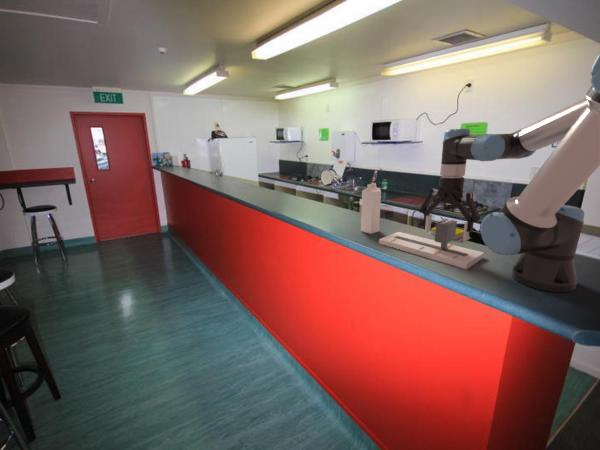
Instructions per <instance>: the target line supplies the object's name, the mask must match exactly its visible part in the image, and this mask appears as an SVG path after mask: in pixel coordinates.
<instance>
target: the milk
mask: <svg viewBox="0 0 600 450" xmlns="http://www.w3.org/2000/svg"><path fill="white" fill-rule="evenodd" d="M381 196H382V190H381V189H380V188H378V187H377V183H376V182H375V183H369V184H367V188H365V189H362V191H361V212H360V213H361V215H360V216H361V217H360V218H361V220H360V231H361V232H362V233H367V234H370V235H372V234H375V233H378V232H380V221H381V217H380V216H381V203H382V200H381V199H382V197H381Z"/></svg>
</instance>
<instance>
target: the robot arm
mask: <svg viewBox="0 0 600 450" xmlns="http://www.w3.org/2000/svg"><path fill="white" fill-rule="evenodd" d="M590 75H591V78H590V84H591V87H590V88H589V89H588V90H587V92H586V93H585V95H584V97H585V98H582V99H580V100H578V101H577V102H574V103H573V104H570V105H568V106H566V107H565V108H562V109H560V110H558V111H556V112H554V113H552V114H549V115H547V116H545V117H542V118H541V119H539V120H537V121H535V122H533V123H531V124H529V125H526V126H525V127H523V128H520V129H518V130H516V131H514V132H512V133H484V134H471V130H470V129H469V128H454V129H453V128H451V129H450V128H449V129H447V130H445V131H444V136H443V140H442V152H441V164H440V171H439V175H440V177H439V184H438V189H437V188H431V189H429V191H428V196H427V197H426V199H425V200H424V202H423V204H422V205H421V207H420V208H419V211H418V212H419V213H421V214H422V215H423V224H425V226H424V234H428V232H431V229H432V226H431V225H432V220H433V219H432V218H433V217H432V216H433V215H432V214H431V213H432V212H433V211H434V210H436V208H437V207H439V206H440V205H441V204H442V203H443V204H449V205H455V206H456V207H457V208H458V210H459V211H460V213H461V214H462V216H463V217H464V219H465V220H466V222H464V227H463V230H464V234H463V241H462V242H466V241H469V240H470V239H469V237H470V233H471V232H472V231H474V223H477V222H479V221H481V216H480V214H479V211H478V208H477V206H476V203H475V200H474V192H472V191H471V192H464V186H465V185H464V184H465V178H464V177H465V175H466V169H467V160H471V161H478V162H479V161H480V162H493V161H496V160H509V159H510V160H512V159H513V160H515V159H516V160H517V159H519V160H520V159H523V158H529V157H531V156H533V154H534V153H536V151H538V150H540V149H543V148H545V147H548V146H552V145H553V144H556V143H558V142H559V143H558V144H557V145H556V147H555V148H554V149H553V150H552V152H551V153H550V155H549V156H548V157H547V159H546V160H545V161H544V163H543V164H542V165H541V167H539V170H538V171H537V172H536V173H535V175H534V176H533V177H532V179H531V180H530V181H529V183H528V184H527V185H526V186H525V188H524V189H523V190H522V192H521V193H520V194H519V196H513V197H510V198H508V199H507V201H506V202H505V203H504V204H503V206H502V208H501V209H500V210H499V211H498V212H497V211H494V212H491V213H489V214H487V215H486V216H484V217H483V219H482V221H481V224H480V234H481V239H482V240H483V243H484V244H485V246H486V247H487V248H488V250H490V251H491V252H493V253H494V254H497V255H500V256H514V255H515V256H517V255H519V256H518V257H517V258H516V260H515V262H514V263H513V265H512V267H511V271H510V272H511V273H510V276H511V277H512V278H513V279H514V280H515V281H517V282H519V283H521V285H525V286H528V287H530V288H534V289H537V290H541V291H545V292H546V291H547V292H552V293H569V292H572V291H575V290H576V288H577V283H578V277H577V273H576V266H575V261H574V260H575V257H576V256H575V255H576V251H577V247H578V244H579V241H580V236H581V233H582V228H583V225H584V224H585V221H584V219H585V210H583V209H582V208H580V207H578V206H574V205H573V206H572V205H568V204H567V205H566V203H567V202H568V201H569V200H570V198H572V196H574V194H575V193H576V192H577V191H579V188H581V187H582V186H583V184H584V183H585V182H586V181H587V180H589V178H590V177H591V176H592V175H593V174H594V173H595V172H596V170H597V169H598V168H599V167H600V53H599V54H598V55H597V57H596V59H594V62H593V64H592V66H591V69H590ZM435 196H438V198H437V199H436V200H435V202H434V203H432V202H433V200H434V198H435ZM462 198H464V200H465V201H466V204H467V206H466V205H465V204H464V201H463V200H462ZM431 203H432V204H431ZM430 204H431V205H430ZM467 207H468V208H467ZM468 209H469V210H468Z"/></svg>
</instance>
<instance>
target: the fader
mask: <svg viewBox="0 0 600 450" xmlns="http://www.w3.org/2000/svg"><path fill="white" fill-rule="evenodd" d="M457 223H458V221H457V220H455V219H450V218H445V219H442V220H440V221H438V222H436V223H435V227H436V232H435V235H434V240H435V242H439V243H441V248H442V249H446V248H447V245H448V244H450V243H451V242H454V241H453V240H455V234H456V228H457V225H458V224H457Z"/></svg>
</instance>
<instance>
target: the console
mask: <svg viewBox="0 0 600 450" xmlns="http://www.w3.org/2000/svg"><path fill="white" fill-rule="evenodd" d="M378 244H379V245H382V246H385V245H386V247H389V248H392V247H393V248H392V249H395V248H396V249H395V250H399V249H400V250H399V251H402V250H403V252H407V253H409V252H410V254H413V255H416V256H419V257H423V258H427V259H430V260H433V261H437V262H441V263H443V264H447V265H450V266H454V267H457V268H460V269H464V270H468V269H470V268H471V267H472V266H474V265H475V264H476V263H478V262H479V261H481V260H483V259H484V256H485V252H483V251H479V250H475V249H473V248H466V247H463V246H458V245H456V244H451V243H448V245H447V248H446V249H442V248H441V243H439V242H435V239H430V238H425V237H421V236H417V235H413V234H409V233H406V232H405V233H404V232H401V231H397V232H394V233H392V234H389V235H386V236H383V237H381V238H379V240H378Z"/></svg>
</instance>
